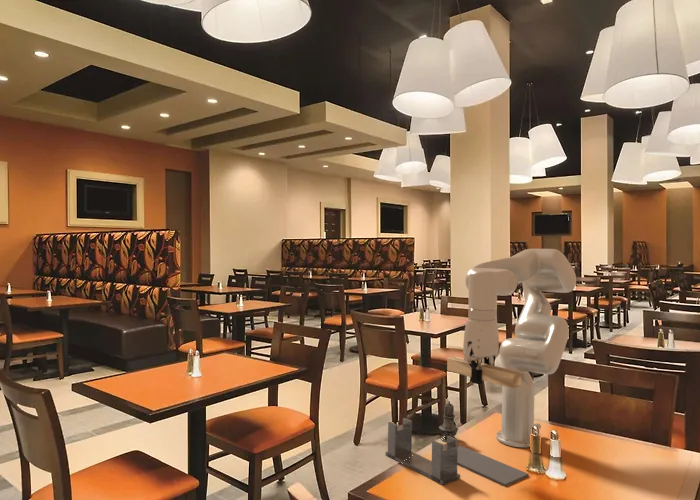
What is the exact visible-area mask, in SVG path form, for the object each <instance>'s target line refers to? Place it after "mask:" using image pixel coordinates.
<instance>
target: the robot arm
mask: <svg viewBox="0 0 700 500" xmlns="http://www.w3.org/2000/svg"><path fill="white" fill-rule="evenodd" d="M464 280H465V286H466V288H467V290H468V302H467V303H468V309H467V310H468V314H467V315H468V319H467V320H466V321H465V322H466V323H465V326H464V334H463V345H462V346H463V347H462V351H463V352H462V353H463V354H462V355H464V356H463V359H464V360H465V361H466V362H467V363H468V364H469V365H470V368H471V377H470V381H471V383H473V384H476V385H482V384H483V380H482V370H481V369H480V368H481V363H484V364H488V365H493V366H495V361H496V359H497V358H498V357H499V359H500V367H501V368H505V369H509V370H513V371H518V372H521V386H520V387H516V388H509V387H505V386H501V387H502V388H501V389H502V390H501V391H502V392H501V430H499V431H498V432H497V433H496V435H495V436H496V440H497V441H499V442H500V443H501V444H503V445H506V446H509V447H515V448H522V449H523V448H524V449H525V448H526V449H527V448H530V447H529V445H530V434H531V429H532V427H534V426H537V427H538V428H539V430H541V428H542V425H541V423H539V422H538V423H535V383H534V379H533V378H532V376H531V374H530V373H535V374H542V375H552V374H554V373H555V372H557V369H558V368H559V366H560V363H561V360H562V357H563V355H564V351H565V350H566V349H565V348H566V346H567V342H568V339H569V334H570V333H569V332H570V331H569V330H570V329H569V325H568V322H567V320H566V319H564V317H562V316H558V315H551V313H552V305H551V304H550V301H549V300H548V298H547V297H545V295H543V293H542V292H545V293H546V292H548V293H561V294H562V293H563V294H564V293H565V294H566V293H571V292H572V291H574V290H575V287H576V285H577V275H576V272H575V270H574V268H573V266H572V264H571V263H570V262H569V260H568V258H567V256H566V255H565V254H564V253H563V252H561V250H558V249H557V248H527V249H526V248H525V249H524V250H522V251H519V252H517V253H516V254H514V255H512V256H510V257H504V258H499V259H494V260H490V261H485V262H482V263H479V264H477V265H475V266H473V267H471V268H470V269H469V270H468V272H466V275H465V279H464ZM518 284H521V285H522V290H523V297H524V305H523V307H522V310H521V312H520V314H519V317H518V319H517V321H516V324H515V328H514V334H515V337H511V338H506V339H505V340H503V341H502V342H501V344H500V340H499V339H500V337H499V335H500V334H499V326H498V325H499V324H498V320H497V319H498V318H497V311H498V309H497V307H498V296H504V297H505V296H509V295H512V294H513V293H514V292H515V291H516V289H517V287H518ZM499 345H500V346H499ZM475 361H476V362H477V363H476V362H475Z"/></svg>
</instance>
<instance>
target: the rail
mask: <svg viewBox="0 0 700 500" xmlns="http://www.w3.org/2000/svg"><path fill="white" fill-rule="evenodd" d="M446 360H447V363H446V365H447V366H446V369H447V370H446V371H448V372H450V373H454V374H459V375H461V376H466V377H469V378H471V368H470V365H469V364H468V363H467V362H466V361H465V360H464V357H459V356H453V357H448V358H447V359H446ZM475 362H476V363H477V360H475ZM480 369H481V370H482V382H483V381H484V382H488V383H492V384H493V385H494V384H495V385H499V386H501V387H502V386H505V387H509V388H516V387H520V386H521V372H518V371H513V370H509V369H505V368H502V366H496V365H494V366H493V365H488V364H484V363H483V362H481V368H480Z"/></svg>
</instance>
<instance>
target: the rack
mask: <svg viewBox="0 0 700 500" xmlns="http://www.w3.org/2000/svg"><path fill="white" fill-rule="evenodd" d="M387 423H388V425H387V450H386V451H385V454H384V455H385V456H386V457H387V458H389V459H391V460H394V461H395V462H397V463H399V464H401V462H402V463H403V464H402V465H403V466H404V467H407V468H408V469H411V470H413V471H414V472H417V473H418V474H419V475H422V476H424V477H427V478H428V479H430V480H432V481H434V482H436V483H438V484H440V485H442V486H445V485H448V484H450V483H453V482H454V481H459V480H460V479H461V474H460V473H458V465H457V457H458V446H459V445H458V443H459V442H458V441H459V439H458V438H457V439H455V438H456V437H455V438H453V437H451V436H447V442H445V443H441V442H439V441H436V440H432V441H431V460H430V459H429V458H427V457H424V456H422V455H420V454H418V453H416V452H414V451H412V449H413V448H412V447H413V446H412V442H413V441H412V439H413V435H412V434H413V433H412V432H413V420H410V419H408V418H406V417H403V418H402V424H400V425H398V424H396V423H394V422H392V421H389V422H387ZM412 455H413V456H412ZM409 457H410V458H409ZM406 459H407V460H406ZM404 460H405V461H404Z"/></svg>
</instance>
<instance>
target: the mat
mask: <svg viewBox="0 0 700 500" xmlns="http://www.w3.org/2000/svg"><path fill="white" fill-rule="evenodd" d="M457 466H459V467H461V468H463V469H466V470H469V471H470V472H472V473H474V474H477V475H479V476H481V477H484V478H485V479H488V480H490V481H491V482H494V483H496V484H498V485H500V486H502V487H507V486H510V485H512V484H514V483H516V482H519V481H521V480H523V479H525V478H528V477H529V476H530V475H529V473H528V472H525V471H522V470H520V469H518V468H516V467H513V466H512V465H509V464H507V463H503V462H501V461H499V460H497V459H493V458H491V457H490V456H487V455H485V454H482V453H479V452H478V451H477V452H476V451H475V450H473V449H470V448H468V447H465V446H462V445H458V457H457Z"/></svg>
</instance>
